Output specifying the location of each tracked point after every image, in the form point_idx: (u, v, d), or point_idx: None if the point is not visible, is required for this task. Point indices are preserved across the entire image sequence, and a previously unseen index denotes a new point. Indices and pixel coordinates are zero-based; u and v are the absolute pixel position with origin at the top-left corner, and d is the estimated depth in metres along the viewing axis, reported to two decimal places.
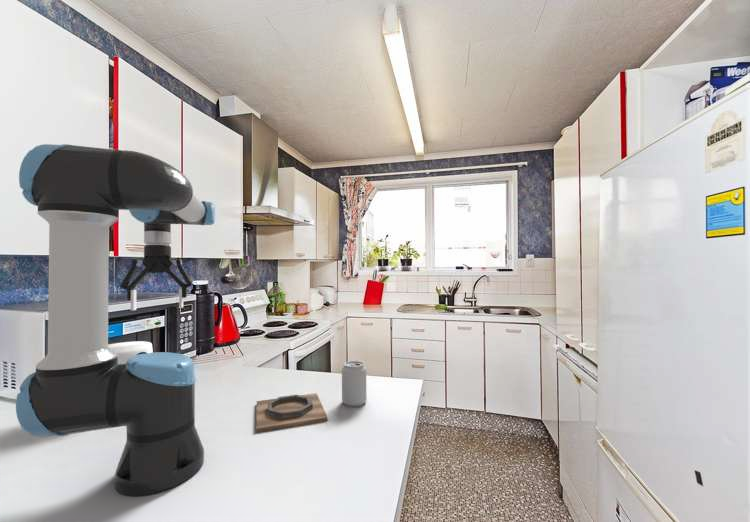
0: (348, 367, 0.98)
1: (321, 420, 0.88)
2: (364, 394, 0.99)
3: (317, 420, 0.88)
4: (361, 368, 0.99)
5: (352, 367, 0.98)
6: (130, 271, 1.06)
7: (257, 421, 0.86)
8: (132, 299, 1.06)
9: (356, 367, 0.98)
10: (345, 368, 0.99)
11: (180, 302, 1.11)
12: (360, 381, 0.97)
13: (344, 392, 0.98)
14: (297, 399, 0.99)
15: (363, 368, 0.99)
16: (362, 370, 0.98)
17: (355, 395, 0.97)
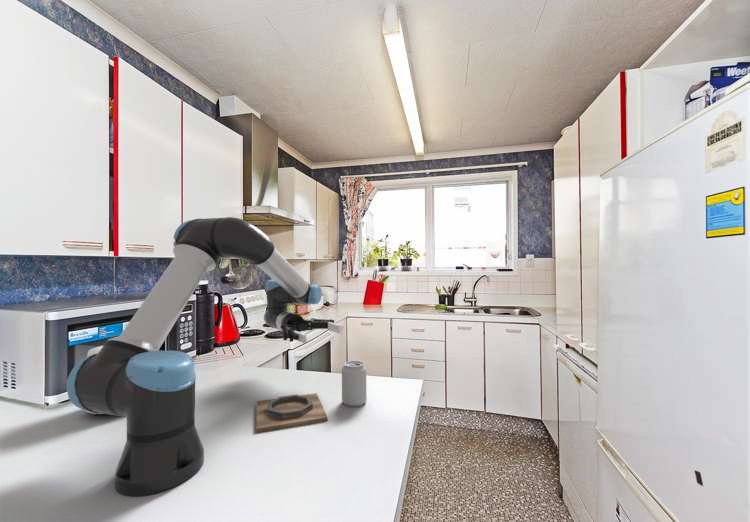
0: (348, 367, 0.98)
1: (321, 420, 0.88)
2: (364, 394, 0.99)
3: (317, 420, 0.88)
4: (361, 368, 0.99)
5: (352, 367, 0.98)
6: (284, 328, 1.12)
7: (257, 421, 0.86)
8: (299, 332, 1.06)
9: (356, 367, 0.98)
10: (345, 368, 0.99)
11: (336, 324, 1.14)
12: (360, 381, 0.97)
13: (344, 392, 0.98)
14: (297, 399, 0.99)
15: (363, 368, 0.99)
16: (362, 370, 0.98)
17: (355, 395, 0.97)
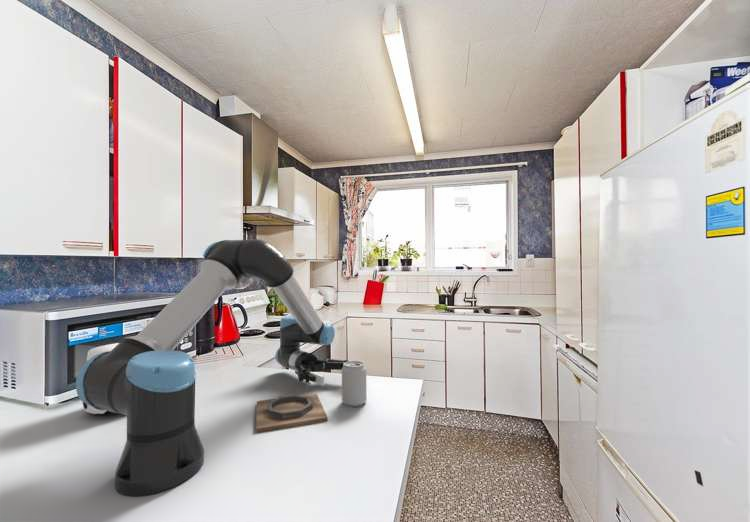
0: (348, 367, 0.98)
1: (321, 420, 0.88)
2: (364, 394, 0.99)
3: (317, 420, 0.88)
4: (361, 368, 0.99)
5: (352, 367, 0.98)
6: (299, 368, 1.10)
7: (257, 421, 0.86)
8: (316, 373, 1.04)
9: (356, 367, 0.98)
10: (345, 368, 0.99)
11: None
12: (360, 381, 0.97)
13: (344, 392, 0.98)
14: (297, 399, 0.99)
15: (363, 368, 0.99)
16: (362, 370, 0.98)
17: (355, 395, 0.97)
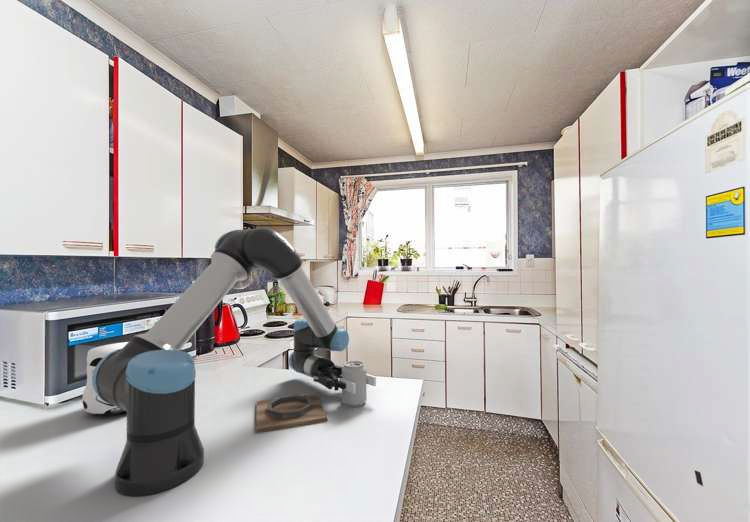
0: (348, 367, 0.98)
1: (321, 420, 0.88)
2: (364, 394, 0.99)
3: (317, 420, 0.88)
4: (361, 368, 0.99)
5: (352, 367, 0.98)
6: (321, 375, 1.02)
7: (257, 421, 0.86)
8: (346, 380, 0.97)
9: (356, 367, 0.98)
10: (345, 368, 0.99)
11: (370, 375, 1.01)
12: (360, 381, 0.97)
13: (344, 392, 0.98)
14: (297, 399, 0.99)
15: (363, 368, 0.99)
16: (362, 370, 0.98)
17: (355, 395, 0.97)
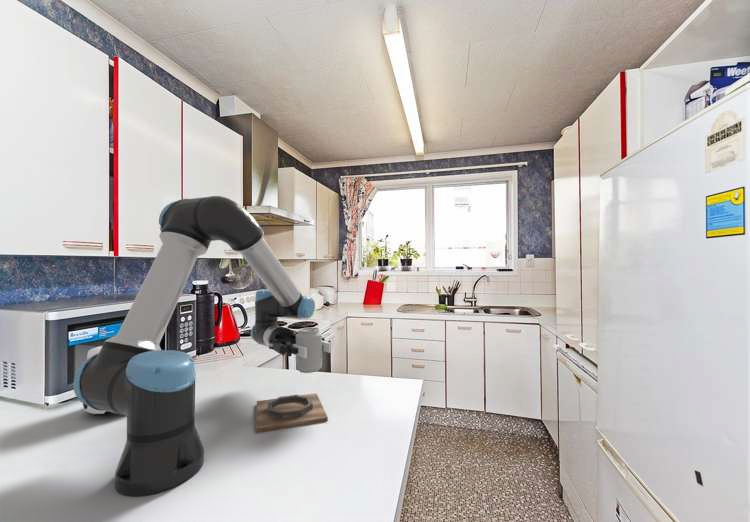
0: (301, 332, 0.94)
1: (321, 420, 0.88)
2: (318, 360, 0.95)
3: (317, 420, 0.88)
4: (315, 333, 0.95)
5: (305, 332, 0.94)
6: (276, 342, 0.98)
7: (257, 421, 0.86)
8: (299, 345, 0.93)
9: (309, 332, 0.94)
10: (299, 333, 0.95)
11: (326, 342, 0.97)
12: (313, 347, 0.94)
13: (297, 358, 0.94)
14: (297, 399, 0.99)
15: (317, 333, 0.95)
16: (316, 335, 0.94)
17: (308, 360, 0.93)
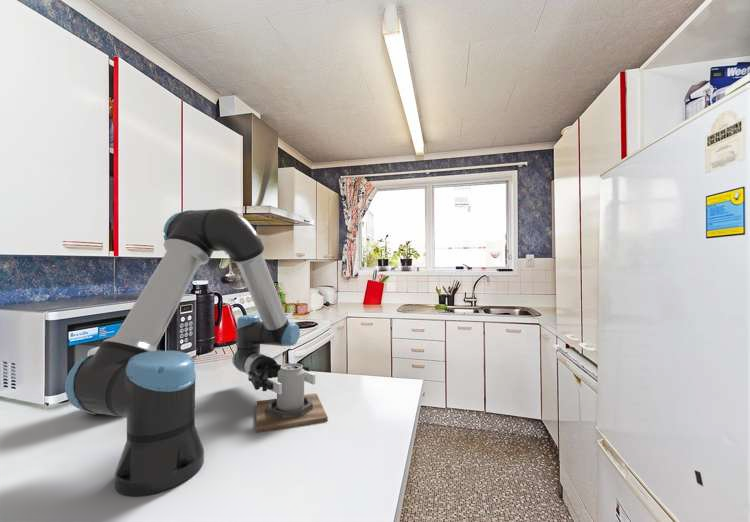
0: (283, 370, 0.92)
1: (321, 420, 0.88)
2: (300, 399, 0.92)
3: (317, 420, 0.88)
4: (297, 371, 0.92)
5: (287, 370, 0.92)
6: (254, 374, 0.96)
7: (257, 421, 0.86)
8: (274, 380, 0.90)
9: (292, 370, 0.92)
10: (280, 371, 0.93)
11: (310, 373, 0.96)
12: (295, 386, 0.91)
13: (278, 396, 0.92)
14: None
15: (300, 371, 0.93)
16: (298, 374, 0.92)
17: (289, 400, 0.91)
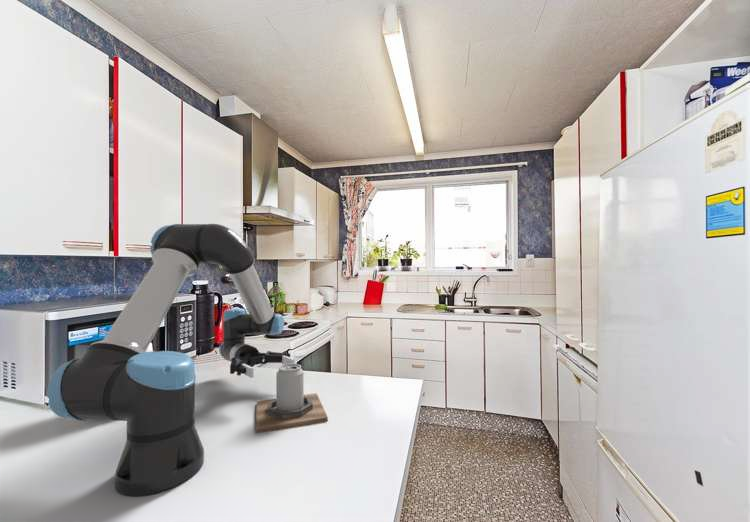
0: (282, 371, 0.92)
1: (321, 420, 0.88)
2: (300, 399, 0.92)
3: (317, 420, 0.88)
4: (296, 372, 0.92)
5: (286, 371, 0.91)
6: (233, 360, 1.05)
7: (257, 421, 0.86)
8: (247, 365, 0.99)
9: (290, 371, 0.92)
10: (279, 372, 0.92)
11: (290, 358, 1.08)
12: (294, 386, 0.91)
13: (278, 397, 0.92)
14: None
15: (299, 372, 0.93)
16: (297, 374, 0.92)
17: (288, 400, 0.91)
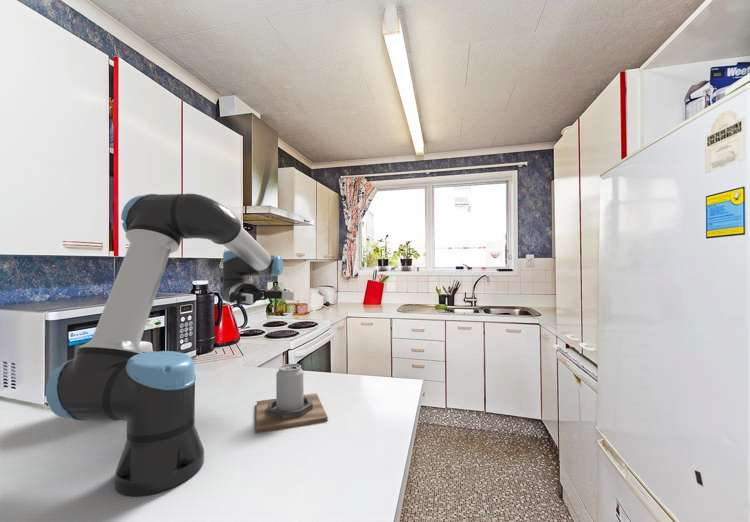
0: (282, 371, 0.92)
1: (321, 420, 0.88)
2: (300, 399, 0.92)
3: (317, 420, 0.88)
4: (296, 372, 0.92)
5: (286, 371, 0.91)
6: None
7: (257, 421, 0.86)
8: (246, 293, 0.99)
9: (290, 371, 0.92)
10: (279, 372, 0.92)
11: None
12: (294, 386, 0.91)
13: (278, 397, 0.92)
14: None
15: (299, 372, 0.93)
16: (297, 374, 0.92)
17: (288, 400, 0.91)
